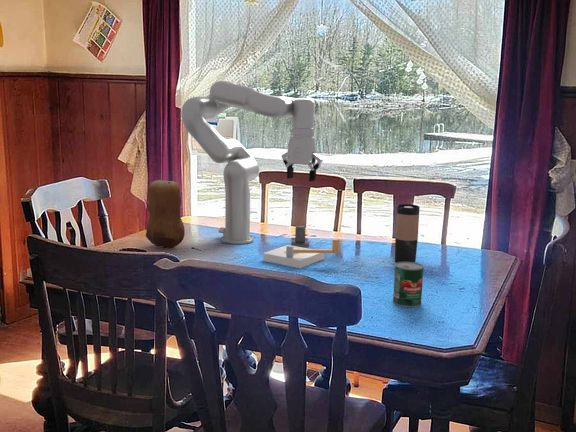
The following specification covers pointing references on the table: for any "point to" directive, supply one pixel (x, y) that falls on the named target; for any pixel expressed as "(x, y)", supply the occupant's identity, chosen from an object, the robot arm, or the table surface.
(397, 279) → the canned tomato
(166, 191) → the butternut squash
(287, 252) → the orange crank handle
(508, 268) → the table surface
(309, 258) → the white square base
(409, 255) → the travel mug
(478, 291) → the table surface
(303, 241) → the plug
